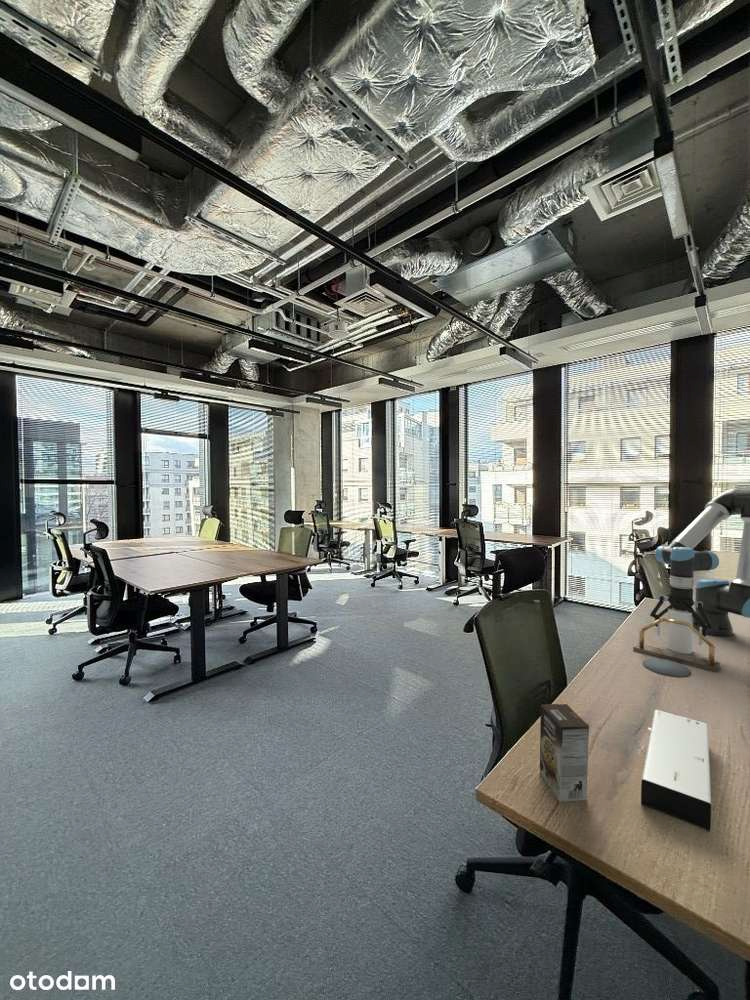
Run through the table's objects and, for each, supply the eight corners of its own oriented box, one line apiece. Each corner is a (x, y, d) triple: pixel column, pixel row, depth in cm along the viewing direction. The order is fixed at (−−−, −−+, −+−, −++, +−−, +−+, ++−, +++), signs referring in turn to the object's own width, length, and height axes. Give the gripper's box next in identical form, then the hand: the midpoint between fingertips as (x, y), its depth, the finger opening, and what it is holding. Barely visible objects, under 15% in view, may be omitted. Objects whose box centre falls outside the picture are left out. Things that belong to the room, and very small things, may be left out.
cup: (683, 646, 173) (685, 607, 172) (697, 654, 165) (698, 613, 164) (662, 645, 174) (663, 606, 173) (674, 653, 166) (675, 612, 165)
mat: (649, 656, 162) (649, 655, 162) (694, 668, 152) (694, 666, 152) (637, 667, 153) (637, 665, 153) (684, 680, 142) (684, 678, 142)
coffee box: (538, 773, 97) (539, 703, 96) (565, 771, 98) (566, 702, 97) (558, 803, 88) (560, 726, 87) (588, 801, 88) (590, 725, 88)
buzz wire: (638, 646, 172) (639, 611, 171) (719, 667, 153) (721, 627, 152) (633, 650, 168) (634, 614, 167) (716, 672, 149) (718, 631, 148)
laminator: (710, 835, 80) (711, 804, 80) (634, 805, 88) (635, 776, 87) (707, 747, 107) (707, 723, 107) (649, 729, 115) (649, 707, 114)
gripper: (642, 582, 175) (641, 633, 176) (719, 594, 157) (717, 651, 157) (647, 579, 180) (646, 629, 181) (723, 590, 162) (721, 645, 163)
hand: (679, 639), depth 169 cm, fingers open, 13 cm apart
